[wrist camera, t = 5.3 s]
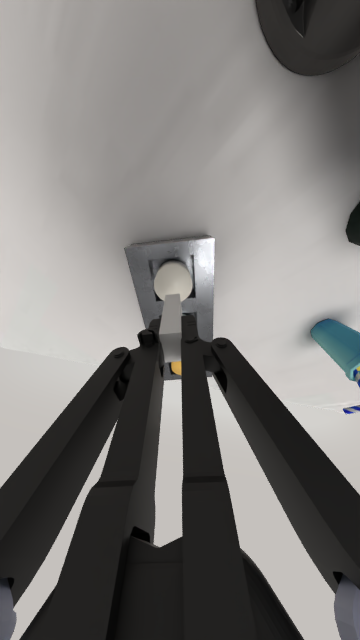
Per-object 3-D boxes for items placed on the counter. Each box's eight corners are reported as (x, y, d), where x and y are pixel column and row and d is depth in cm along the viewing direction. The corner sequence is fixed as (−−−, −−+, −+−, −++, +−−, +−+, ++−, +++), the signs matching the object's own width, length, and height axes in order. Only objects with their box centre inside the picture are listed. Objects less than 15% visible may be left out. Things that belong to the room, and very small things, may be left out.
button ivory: (153, 262, 23) (150, 268, 20) (189, 258, 23) (191, 264, 20) (159, 295, 26) (157, 304, 23) (191, 292, 25) (193, 301, 22)
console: (131, 244, 24) (124, 248, 21) (209, 235, 24) (214, 237, 20) (161, 367, 39) (159, 380, 36) (209, 363, 39) (212, 376, 35)
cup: (298, 357, 38) (359, 425, 26) (281, 342, 36) (338, 410, 23) (361, 319, 32) (479, 382, 20) (346, 298, 30) (471, 355, 17)
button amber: (170, 347, 34) (169, 359, 31) (194, 345, 34) (196, 357, 31) (173, 363, 36) (173, 376, 34) (195, 361, 36) (197, 374, 33)
